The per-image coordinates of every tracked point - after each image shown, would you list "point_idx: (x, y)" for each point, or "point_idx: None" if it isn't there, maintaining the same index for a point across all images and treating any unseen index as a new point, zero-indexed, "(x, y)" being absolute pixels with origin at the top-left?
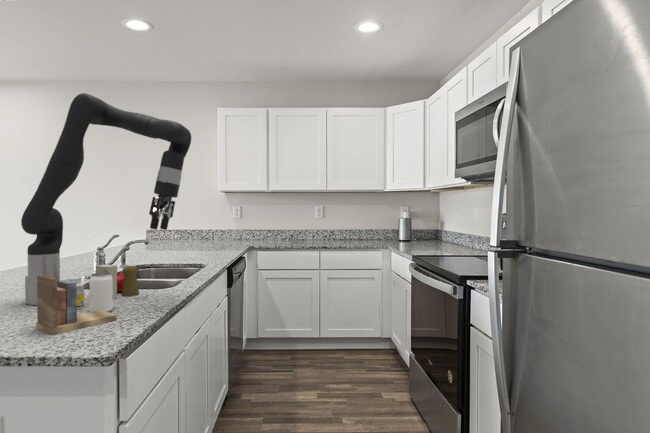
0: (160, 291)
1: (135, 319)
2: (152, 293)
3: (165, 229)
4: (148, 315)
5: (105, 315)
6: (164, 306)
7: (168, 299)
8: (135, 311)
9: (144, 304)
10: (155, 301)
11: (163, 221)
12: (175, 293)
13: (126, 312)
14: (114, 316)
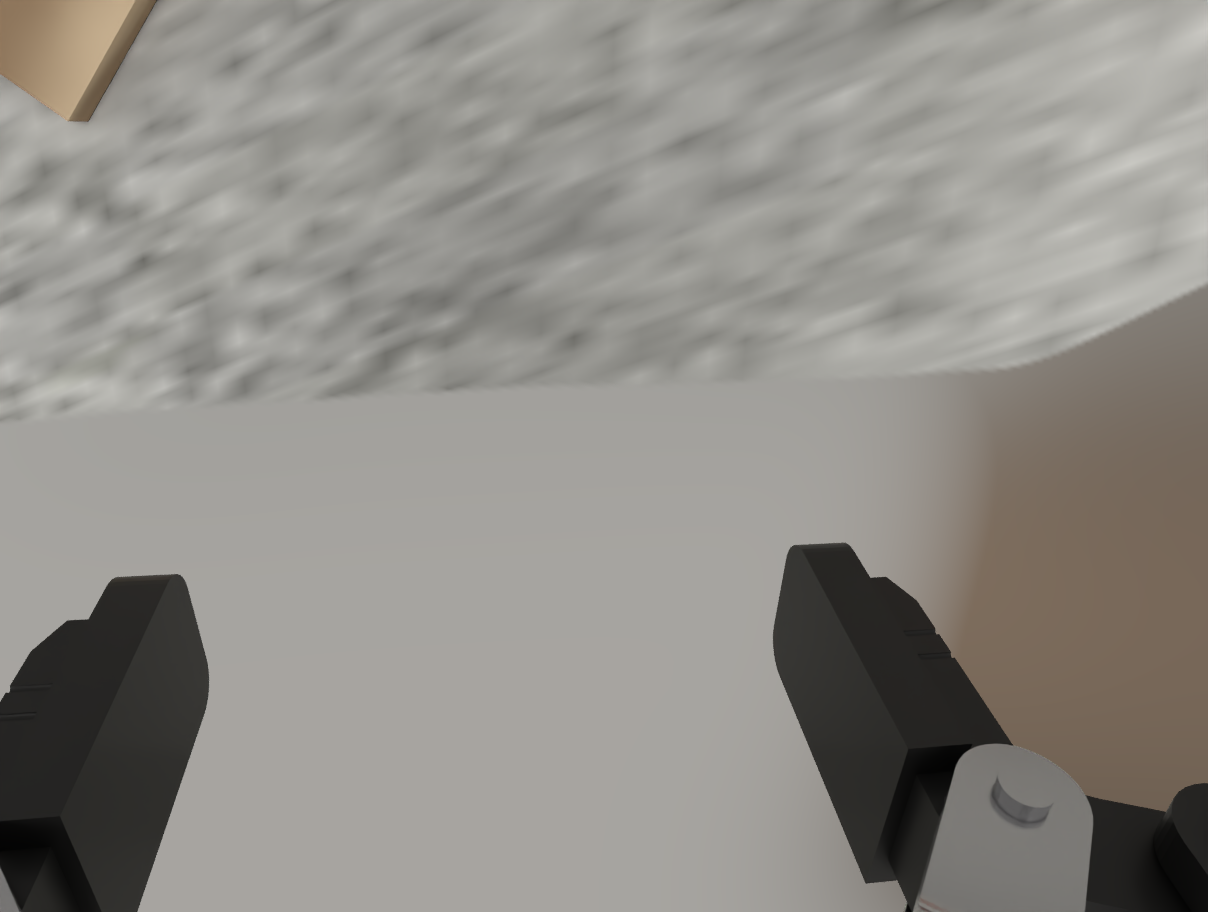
0: (1145, 60)
1: (136, 259)
2: (1063, 11)
3: (776, 641)
4: (257, 309)
5: (40, 27)
6: (534, 325)
7: (781, 268)
8: (364, 153)
9: (604, 127)
10: (712, 181)
11: (858, 719)
12: (1020, 245)
13: (326, 89)
14: (56, 110)
